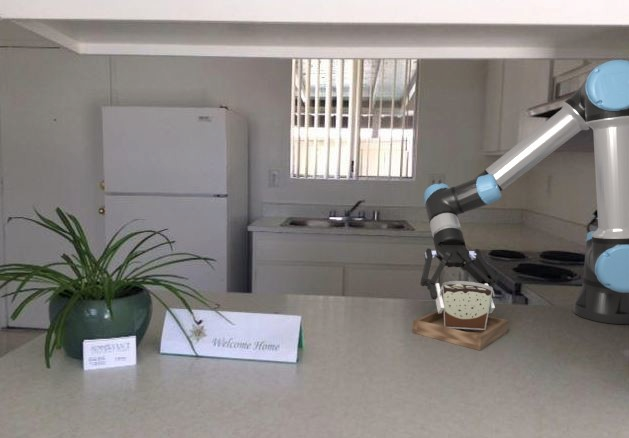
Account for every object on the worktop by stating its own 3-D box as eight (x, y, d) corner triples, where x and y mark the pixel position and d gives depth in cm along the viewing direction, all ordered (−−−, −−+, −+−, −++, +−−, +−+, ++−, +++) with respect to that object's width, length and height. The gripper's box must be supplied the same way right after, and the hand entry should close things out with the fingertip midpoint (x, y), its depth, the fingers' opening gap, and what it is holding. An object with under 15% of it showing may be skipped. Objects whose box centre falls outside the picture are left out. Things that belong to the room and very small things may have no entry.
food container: (484, 322, 122) (487, 281, 121) (491, 330, 115) (495, 287, 114) (433, 319, 122) (435, 279, 121) (437, 327, 116) (440, 285, 115)
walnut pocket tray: (507, 332, 120) (508, 320, 120) (480, 350, 108) (480, 337, 107) (444, 317, 131) (445, 306, 130) (412, 332, 118) (413, 320, 118)
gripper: (486, 243, 133) (509, 318, 120) (399, 243, 132) (412, 318, 118) (496, 226, 127) (521, 302, 114) (405, 225, 126) (420, 302, 112)
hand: (466, 310), depth 116 cm, fingers closed on food container, 11 cm apart
